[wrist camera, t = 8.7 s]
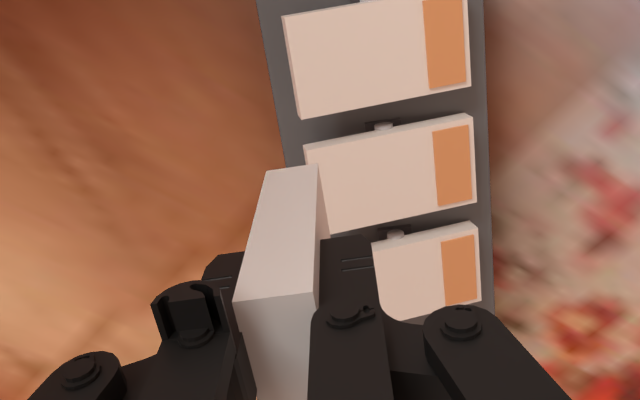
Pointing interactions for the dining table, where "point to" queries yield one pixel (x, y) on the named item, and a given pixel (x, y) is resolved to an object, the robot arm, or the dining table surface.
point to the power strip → (468, 100)
